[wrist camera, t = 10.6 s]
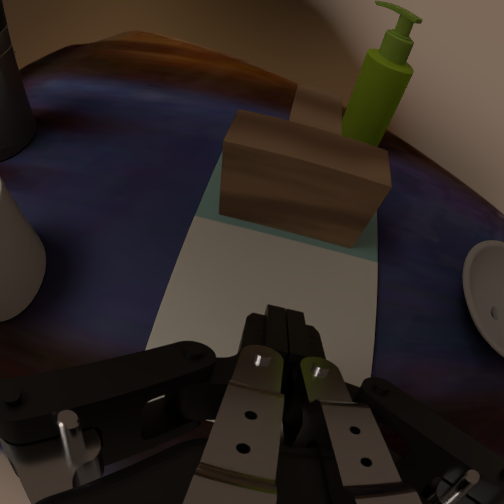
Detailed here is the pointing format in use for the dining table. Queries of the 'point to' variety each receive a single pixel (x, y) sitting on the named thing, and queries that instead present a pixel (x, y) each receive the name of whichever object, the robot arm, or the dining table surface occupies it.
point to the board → (270, 286)
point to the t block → (302, 171)
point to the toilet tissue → (18, 258)
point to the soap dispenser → (381, 82)
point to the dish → (486, 291)
